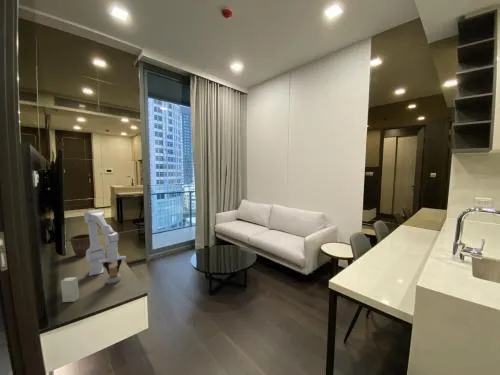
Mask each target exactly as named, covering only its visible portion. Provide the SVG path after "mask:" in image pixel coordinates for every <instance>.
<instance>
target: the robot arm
mask: <svg viewBox="0 0 500 375" xmlns="http://www.w3.org/2000/svg"><path fill="white" fill-rule="evenodd" d="M83 217H84V223H85V224H87V228H88V234H89V237H90V248H89V249H88V250H87V251H86V255H85V259H86V261H87V262H88V263H89V272H88V273H89V274H88V276H89V277H90V276H93V275H94V276H95V275H100V274H103V273H104V267H105V270H106V272H107V274H108V275H109V264H110V263H109V262H112V263H113V262H117V264H116V265H117V271H118V273H119V272H120V267H121V265H122V263H123V260H124V261H125V260H126V259H127V256H126V255H122V256H121V255H119V254H118V253H119V252H118V250H119V249H118V248H119V247H118V242H119V240H120V234H119V233H118V232H117V231H114V229H113V227H112V226H111V225H110V224H107V221H106V219H105V218H104V217H105V212H104V210H103V209H102V208H100V209H93V210H86V211H84V215H83ZM97 224H98V225H99V227H100V231H101V233H102V235H103V236H104V242H105V246H106V250H107V259H106V258H104V257H105V249H104V248H105V247H104V246H102V245H100V238H99V235H98V234H99V233H98V225H97Z"/></svg>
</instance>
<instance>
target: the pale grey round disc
mask: <svg viewBox="0 0 500 375" xmlns="http://www.w3.org/2000/svg"><path fill="white" fill-rule="evenodd" d="M121 276H122V274H120V273H118V276H114V277H110V278H109V275H107V276H105V277H106V278H105V281H106V282H105V283H106V284H110V285H111V284H116V283H118V282H120V281H121V280H122V277H121Z"/></svg>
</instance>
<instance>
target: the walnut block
mask: <svg viewBox="0 0 500 375" xmlns="http://www.w3.org/2000/svg"><path fill="white" fill-rule="evenodd" d="M118 274H119V272H118V271H117V264H114V265H110V266H109V274H108V276H109V278H110V277H114V276H118Z"/></svg>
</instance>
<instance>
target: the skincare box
mask: <svg viewBox="0 0 500 375" xmlns="http://www.w3.org/2000/svg"><path fill="white" fill-rule="evenodd" d="M78 280H79V279H78V276H75V277H65V278H63V279H61V280H60V289H61V297H62V298H61V299H62V303H71V302H72V303H74V302H76V301H78V299H79V298H80V291H79V281H78Z"/></svg>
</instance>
